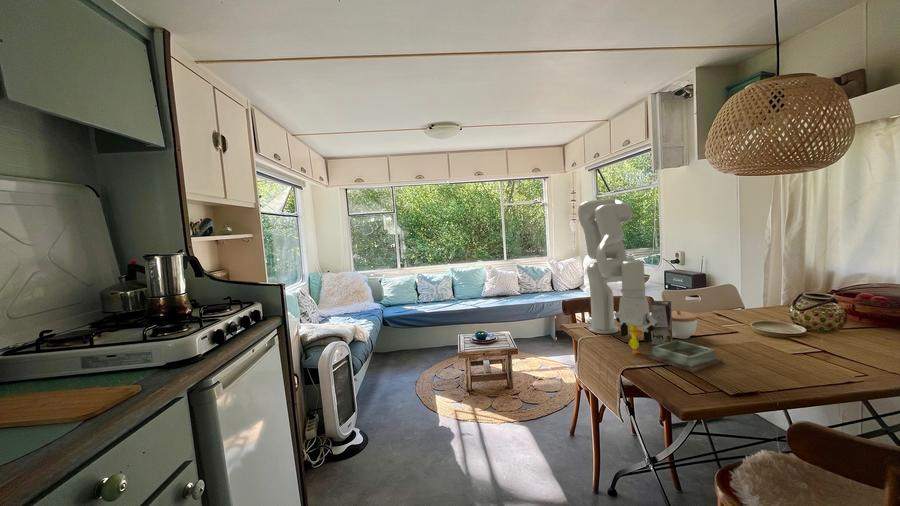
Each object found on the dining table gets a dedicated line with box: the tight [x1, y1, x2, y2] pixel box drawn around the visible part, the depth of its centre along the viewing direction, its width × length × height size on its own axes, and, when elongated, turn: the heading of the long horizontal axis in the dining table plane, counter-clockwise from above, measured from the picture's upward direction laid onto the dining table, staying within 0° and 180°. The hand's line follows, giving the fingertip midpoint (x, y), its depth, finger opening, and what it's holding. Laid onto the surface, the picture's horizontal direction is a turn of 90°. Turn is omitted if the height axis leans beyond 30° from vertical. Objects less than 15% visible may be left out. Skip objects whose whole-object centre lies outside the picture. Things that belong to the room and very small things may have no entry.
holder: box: [645, 339, 723, 374], centre depth 121 cm, size 16×16×4 cm
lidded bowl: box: [671, 309, 698, 340], centre depth 145 cm, size 13×13×11 cm
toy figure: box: [628, 324, 644, 355], centre depth 130 cm, size 7×4×12 cm, turn 12°
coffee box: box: [650, 300, 673, 346], centre depth 139 cm, size 9×6×16 cm
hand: (635, 338), depth 130 cm, fingers open, 9 cm apart
